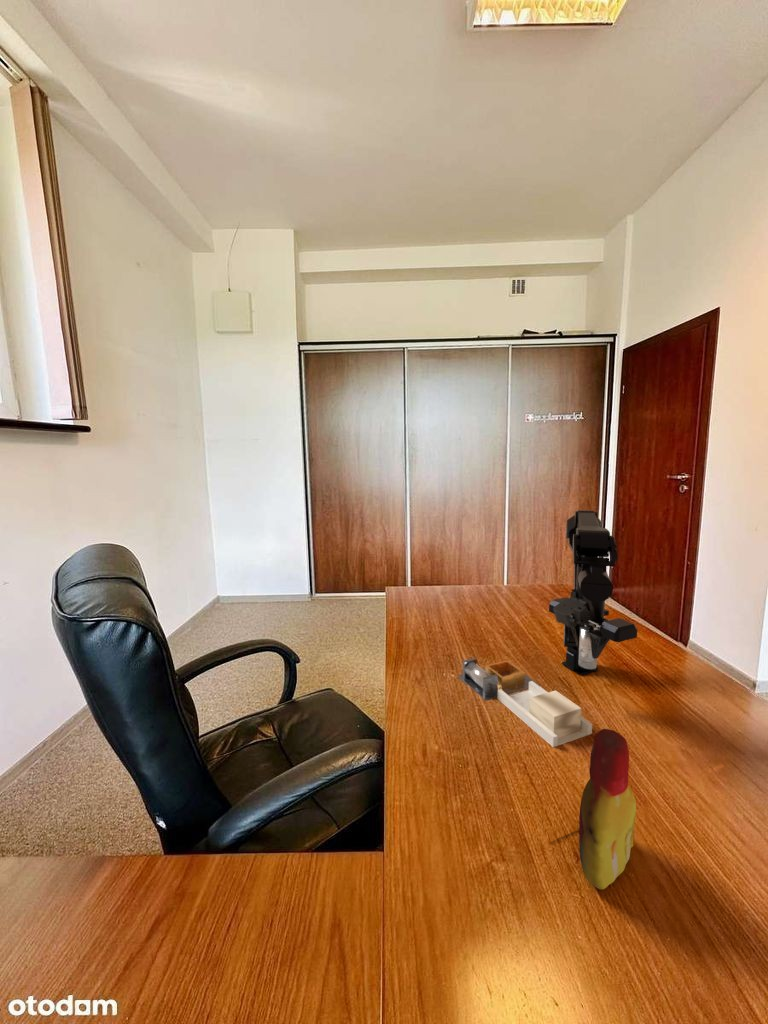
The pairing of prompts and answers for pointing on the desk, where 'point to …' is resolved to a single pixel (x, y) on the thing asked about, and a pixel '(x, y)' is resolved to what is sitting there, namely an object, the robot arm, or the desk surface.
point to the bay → (535, 723)
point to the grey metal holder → (494, 678)
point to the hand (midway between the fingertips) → (587, 654)
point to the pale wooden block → (556, 713)
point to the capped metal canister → (586, 647)
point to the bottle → (606, 811)
